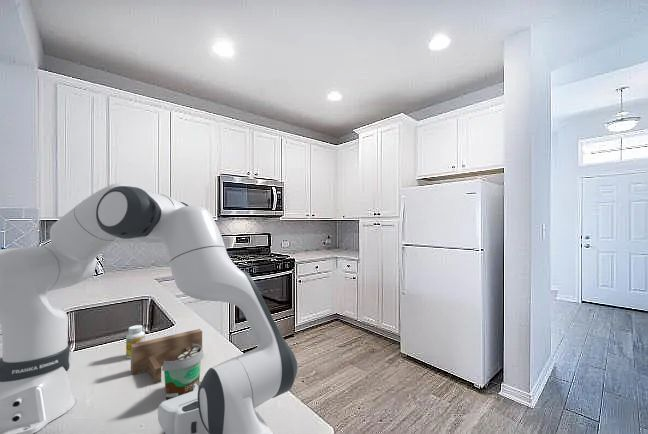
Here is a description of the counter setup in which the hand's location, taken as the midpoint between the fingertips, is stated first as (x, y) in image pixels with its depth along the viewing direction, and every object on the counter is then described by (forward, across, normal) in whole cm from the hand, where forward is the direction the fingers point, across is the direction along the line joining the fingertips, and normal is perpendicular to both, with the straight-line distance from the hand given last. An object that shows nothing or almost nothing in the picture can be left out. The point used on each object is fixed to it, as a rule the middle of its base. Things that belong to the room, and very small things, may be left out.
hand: (199, 385), depth 72 cm
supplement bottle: (+44, +7, +5) cm, 44 cm away
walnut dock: (+25, 0, +5) cm, 25 cm away
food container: (+8, 0, +5) cm, 10 cm away
